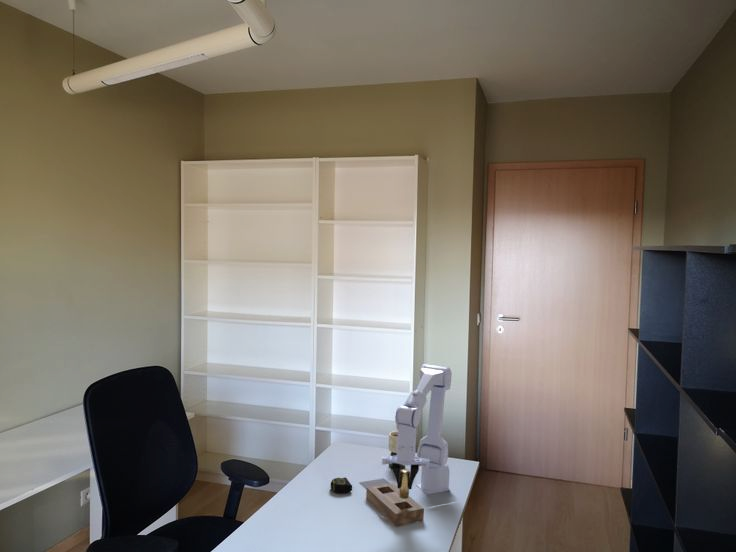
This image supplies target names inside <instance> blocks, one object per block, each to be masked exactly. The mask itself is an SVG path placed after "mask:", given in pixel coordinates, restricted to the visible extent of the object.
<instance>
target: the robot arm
mask: <svg viewBox="0 0 736 552" xmlns="http://www.w3.org/2000/svg"><path fill="white" fill-rule="evenodd" d="M451 383H452V370H451V368H450V367H449V366H440V365H439V366H438V365H434V364H432V365H431V364H427V363H423V364H422V365H421V367H420V369H419V383H418V384H417V388H416V389H415V390H413V391H411V392H410V394H409V395H408V397H407V399H406V400H405V402H404V403H403V405H400V406H398V408H396V412H395V416H394V419H395V420H394V421H395V423H396V431H398V439H397V456H390V455H385V456H384V455H383V456H382V461H381V462H382V463H381V464H382V465H385V466H386V465H389V464H392V467H391V470H392V472H393V474H394V476H395V479H396V486H397V488H400V471H401V469H400V465H403V467H404V466H405V467H406V466H407V467H408V466H410V470H409V471H410V482H409V490H412V489H413V485H414V481H415V478H416V476H417V475H418V473H419V471H420V467H421V473H420V475H421V478H420V483H416V484H415V486H416V487H417V488H419V489H420V490H421V491H423V492H424V493H425V494H426V495H430V494H436V493H441V492H449V491H450V490H451V488H450V468H449V465H448V464H447V462H448V459H449V443H448V442H447V441H446V440H445V439H444V437H442V427H443V419H444V418H443V417H444V416H443V415H444V407H445V397H446V391H449V390H450V389H451V385H452V384H451ZM429 393H430V401H429V409H428V410H429V412H428V423H427V431H426V432H427V434H426V435H425V436H423V437H422V438H421V439H420V440H419V443H418V448H417V451H416V444H417V427H418V426H419V423H420V420H421V416H422V410H423V409H424V407H425V405H426V404H427V401H428V400H427V399H428V398H427V395H428V394H429ZM416 453H417V454H416ZM416 455H417V457H416Z"/></svg>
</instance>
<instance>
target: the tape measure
mask: <svg viewBox="0 0 736 552" xmlns="http://www.w3.org/2000/svg"><path fill="white" fill-rule="evenodd" d="M330 490H331V491H332V492H333V493H335V494H343V495H344V494H347V493H351V492H352V491H353V484H351V482H350V481H349V479H348V478H347V477H335V478H333V479H332V480H331V482H330Z"/></svg>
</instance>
